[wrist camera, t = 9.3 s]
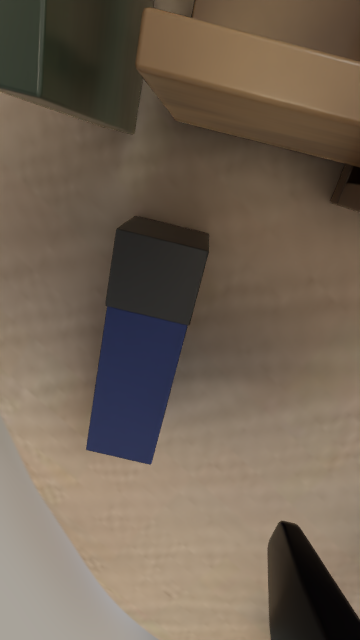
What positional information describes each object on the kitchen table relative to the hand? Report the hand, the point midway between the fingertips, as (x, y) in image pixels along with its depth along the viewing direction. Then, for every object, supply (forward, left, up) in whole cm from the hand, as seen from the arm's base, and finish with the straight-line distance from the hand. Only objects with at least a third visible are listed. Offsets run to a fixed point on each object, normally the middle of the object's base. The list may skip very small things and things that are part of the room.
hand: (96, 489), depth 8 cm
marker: (0, 0, -8) cm, 9 cm away
